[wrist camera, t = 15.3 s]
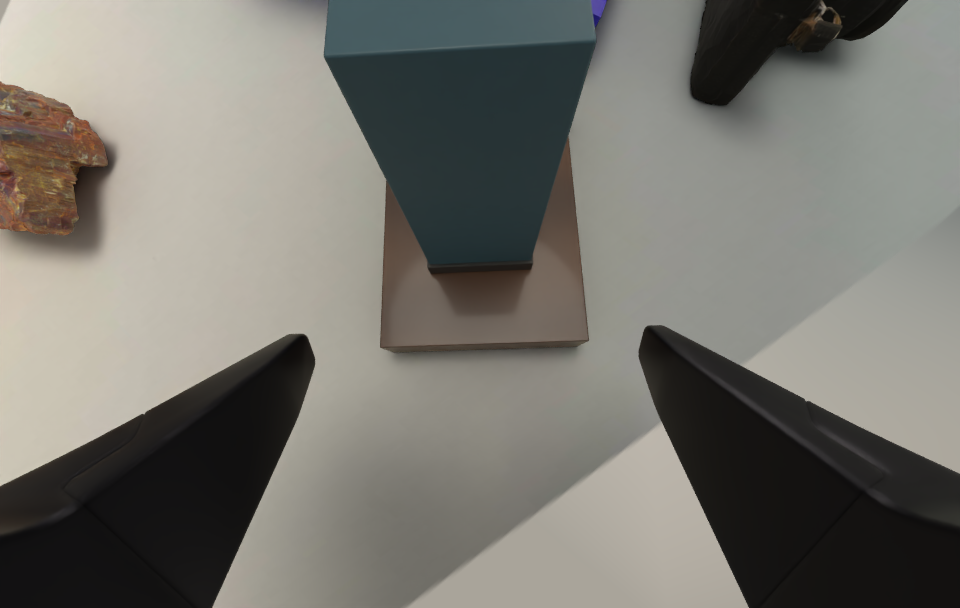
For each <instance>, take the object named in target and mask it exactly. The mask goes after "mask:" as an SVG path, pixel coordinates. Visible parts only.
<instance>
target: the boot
mask: <svg viewBox="0 0 960 608" xmlns="http://www.w3.org/2000/svg"><path fill="white" fill-rule="evenodd" d="M595 45H596V33H595V26H594V18H593V11H592V4H591V0H329V2H328V13H327V25H326V36H325V47H324V58H325V60H326V62H327V64H328V66H329V68H330V70H331V72H332V74H333V76H334V78H335V80H336V82H337V84H338V86H339V88H340V90H341V92H342V94H343V95H344V97H345V99H346V101H347V103H348V105H349V107H350V109H351V111H352V113H353V115H354V117H355V119H356V121H357V123H358V125H359V127H360V129H361V131H362V133H363V135H364V137H365V139H366V141H367V143H368V145H369V147H370V149H371V151H372V152H373V154H374V156H375V158H376V160H377V162H378V164H379V166H380V168H381V170H382V172H383V174H384V176H385V178H386V180H387V182H388V184H389V186H390V188H391V190H392V192H393V194H394V196H395V198H396V200H397V202H398V204H399V206H400V208H401V209H402V211H403V213H404V215H405V217H406V219H407V221H408V223H409V225H410V227H411V229H412V231H413V233H414V235H415V237H416V239H417V241H418V243H419V245H420V247H421V249H422V251H423V253H424V255H425V257H426V259H427V268H428V270H429V272H430V273H431V274H432V273H457V272H481V271H505V270H530V269H532V266H533V252H534V249H535V245H536V242H537V239H538V235H539V232H540V229H541V225H542V222H543V219H544V215H545V212H546V209H547V205H548V202H549V198H550V195H551V192H552V188H553V185H554V182H555V178H556V175H557V172H558V168H559V165H560V162H561V158H562V155H563V152H564V148H565V145H566V142H567V138H568V135H569V132H570V128H571V125H572V122H573V118H574V115H575V112H576V108H577V105H578V101H579V98H580V95H581V91H582V88H583V85H584V81H585V78H586V75H587V71H588V68H589V65H590V61H591V58H592V55H593V51H594V48H595Z"/></svg>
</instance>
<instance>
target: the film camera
mask: <svg viewBox="0 0 960 608" xmlns="http://www.w3.org/2000/svg"><path fill="white" fill-rule="evenodd" d="M907 1H908V0H707V1H706V2H705V3H706V7H705V11H704V12H703V17H702V26H701V28H700V29H701V31H700V37H699V44H698V48H697V52H696V53H695V61H694V65H693V69H692V72H691V74H692V76H691V88H692V94H693V96H694V97H696V98H698V99H700V100H702V101H705V103H709V104H718V105H725V104H728V103H729V102H730V101H731V100H732V99H733V98H734V97H735V96H736V95H737V94H738V93H739V92H740V91H741V90H742V89H743V88H744V86H745V85H746V84H747V83H748V82H749V80H750V79H751V78H752V77H753V76H754V75H755V74H756V73H757V72H758V71H759V69H760V68H761V66H762V65H763V64H764V63H765V62H766V61H767V59H768V58H769V57H770V56H771V55H772V54H773V53H774V51H775V50H776V49H777V48H778V47H782V46H786V43H787V44H790V43H791V45H792V43H794V45H795V47H796V49H797V51H799V50H802V52H818V51H820V50H821V51H822V50H823V49H824V48H825V46H826V45H827V44H828V43H829V42H831V41H832V40H833V39H844V40H848V41H852V40H857V39H861V38H864V37H866V36H868V35H870V34H871V33H873V32H874V31H876V30H877V29H879V28H880V27H882V26H883V25H884V24H885V23H886V22H888V21H889V20H890V19H891V18H892V17H893V16H894V15H895V14H896V12H897V11H898V10H899V9H900V8H901V7H902V6H903V5H904V4H905V3H906V2H907Z"/></svg>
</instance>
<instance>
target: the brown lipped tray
mask: <svg viewBox="0 0 960 608" xmlns="http://www.w3.org/2000/svg"><path fill="white" fill-rule="evenodd" d="M587 341H589V337H588V327H587V317H586V307H585V297H584V287H583V277H582V267H581V257H580V247H579V237H578V227H577V217H576V207H575V197H574V187H573V177H572V167H571V158H570V148H569V138H567V142H566V145H565V148H564V152H563V155H562V158H561V162H560V165H559V168H558V172H557V175H556V178H555V182H554V185H553V188H552V192H551V195H550V198H549V202H548V205H547V209H546V212H545V215H544V219H543V222H542V225H541V229H540V232H539V235H538V239H537V242H536V245H535V249H534V252H533V266H532V269H530V270H505V271H481V272H457V273H432V274H431V273H430V272H429V270H428V268H427V259H426V257H425V255H424V253H423V251H422V249H421V247H420V245H419V243H418V241H417V239H416V237H415V235H414V233H413V231H412V229H411V227H410V225H409V223H408V221H407V219H406V217H405V215H404V213H403V211H402V209H401V208H400V206H399V204H398V202H397V200H396V198H395V196H394V194H393V192H392V190H391V188H390V186H389V184H388V182H387V180H386V205H385V232H384V258H383V285H382V311H381V337H380V348H383V349H386V350H388V351H391V352H420V351H451V350H483V349H514V348H545V347H576V346H579V345H581V344H583V343H585V342H587Z"/></svg>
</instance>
